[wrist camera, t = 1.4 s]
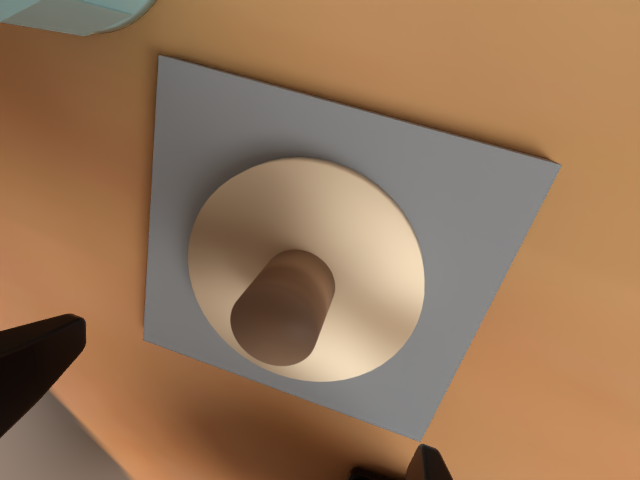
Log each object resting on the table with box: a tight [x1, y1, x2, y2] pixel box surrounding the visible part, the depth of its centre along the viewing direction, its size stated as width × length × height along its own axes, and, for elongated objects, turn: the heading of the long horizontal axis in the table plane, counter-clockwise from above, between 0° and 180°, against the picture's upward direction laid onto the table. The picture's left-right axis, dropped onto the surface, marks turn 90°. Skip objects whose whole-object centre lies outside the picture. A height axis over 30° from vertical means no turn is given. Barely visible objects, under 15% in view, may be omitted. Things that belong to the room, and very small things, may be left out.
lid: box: [188, 157, 425, 382], centre depth 13 cm, size 9×9×4 cm
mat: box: [143, 55, 562, 442], centre depth 16 cm, size 13×14×1 cm
